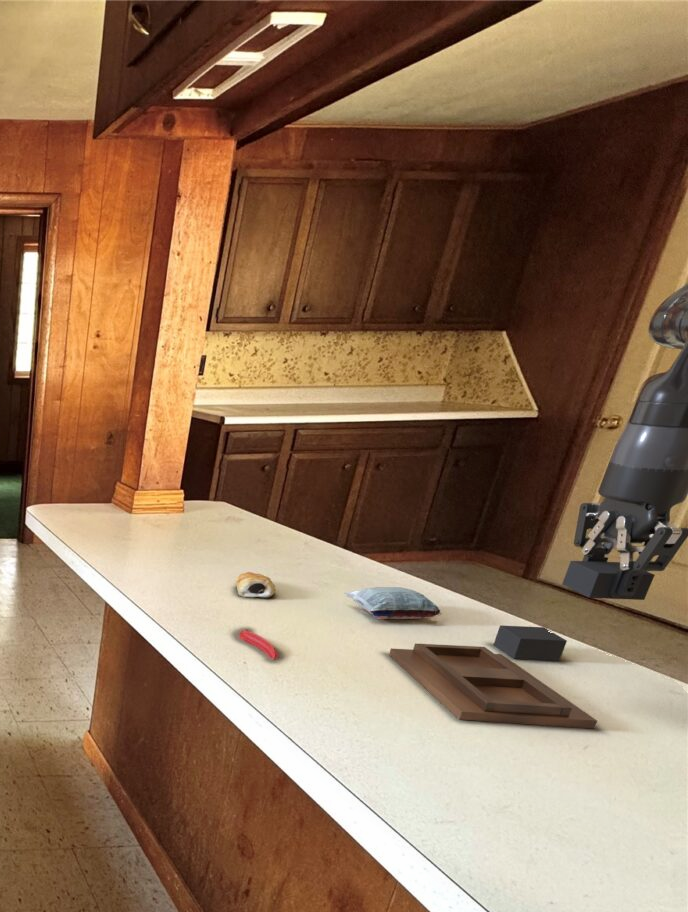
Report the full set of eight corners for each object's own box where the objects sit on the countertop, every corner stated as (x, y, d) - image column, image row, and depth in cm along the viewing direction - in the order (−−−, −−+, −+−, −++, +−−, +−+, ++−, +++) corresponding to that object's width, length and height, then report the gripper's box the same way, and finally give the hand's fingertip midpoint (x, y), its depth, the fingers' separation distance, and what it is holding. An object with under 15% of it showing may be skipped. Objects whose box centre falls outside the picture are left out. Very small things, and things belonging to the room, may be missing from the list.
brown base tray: (498, 660, 101) (504, 646, 100) (594, 728, 84) (601, 712, 83) (388, 655, 104) (392, 640, 103) (459, 719, 87) (464, 703, 86)
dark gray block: (536, 647, 105) (544, 627, 104) (559, 661, 100) (567, 640, 99) (492, 644, 106) (499, 625, 105) (513, 659, 102) (520, 638, 100)
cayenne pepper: (233, 630, 115) (235, 620, 115) (262, 632, 114) (264, 622, 114) (250, 661, 105) (252, 650, 104) (282, 663, 104) (284, 653, 103)
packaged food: (341, 604, 123) (347, 580, 121) (410, 605, 122) (417, 580, 120) (367, 624, 115) (374, 598, 113) (441, 625, 114) (449, 599, 112)
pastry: (231, 580, 136) (234, 563, 135) (267, 583, 134) (271, 566, 133) (237, 597, 128) (240, 578, 127) (276, 600, 126) (280, 582, 125)
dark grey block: (613, 586, 90) (623, 562, 88) (644, 600, 85) (655, 574, 84) (561, 584, 91) (570, 560, 89) (588, 598, 86) (598, 572, 85)
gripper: (748, 473, 74) (684, 612, 81) (642, 451, 87) (594, 572, 94) (666, 472, 76) (610, 608, 82) (574, 451, 89) (532, 570, 95)
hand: (602, 588), depth 88 cm, fingers closed on dark grey block, 5 cm apart
